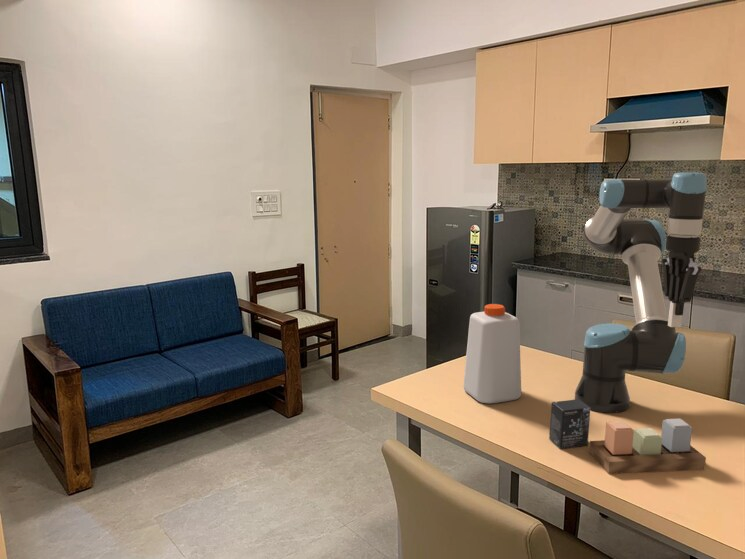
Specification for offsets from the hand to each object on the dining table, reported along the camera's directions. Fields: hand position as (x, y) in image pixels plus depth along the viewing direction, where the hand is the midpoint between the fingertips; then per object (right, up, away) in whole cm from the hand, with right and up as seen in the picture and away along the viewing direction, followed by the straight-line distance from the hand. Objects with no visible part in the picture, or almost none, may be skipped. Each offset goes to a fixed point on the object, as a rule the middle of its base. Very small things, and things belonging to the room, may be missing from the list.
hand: (674, 326), depth 148 cm
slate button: (-5, -28, -11) cm, 31 cm away
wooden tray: (-13, -31, -10) cm, 35 cm away
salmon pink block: (-20, -28, -12) cm, 36 cm away
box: (-28, -30, -1) cm, 41 cm away
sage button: (-12, -30, -11) cm, 35 cm away
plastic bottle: (-41, -24, +30) cm, 56 cm away
